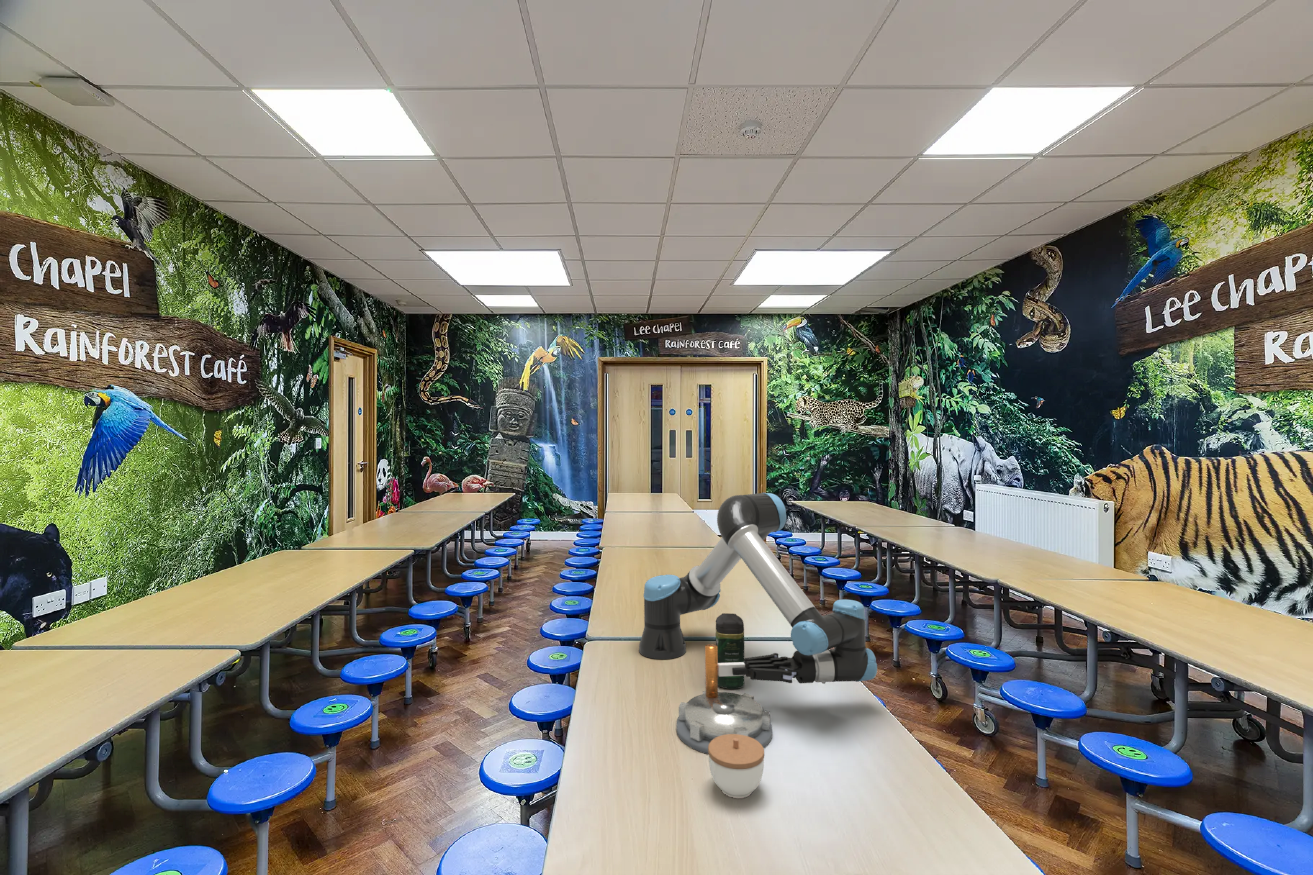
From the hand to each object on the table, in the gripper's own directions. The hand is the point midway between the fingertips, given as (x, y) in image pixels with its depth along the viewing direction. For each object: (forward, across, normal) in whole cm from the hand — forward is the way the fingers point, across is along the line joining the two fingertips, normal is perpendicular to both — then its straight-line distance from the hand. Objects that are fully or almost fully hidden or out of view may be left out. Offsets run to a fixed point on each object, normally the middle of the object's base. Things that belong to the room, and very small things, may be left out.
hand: (718, 669), depth 136 cm
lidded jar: (+2, -29, -11) cm, 32 cm away
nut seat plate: (0, -8, -11) cm, 13 cm away
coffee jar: (-6, +18, -11) cm, 22 cm away
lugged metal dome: (0, -8, -9) cm, 12 cm away
